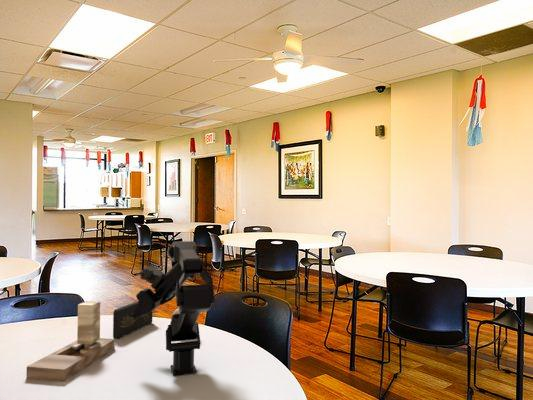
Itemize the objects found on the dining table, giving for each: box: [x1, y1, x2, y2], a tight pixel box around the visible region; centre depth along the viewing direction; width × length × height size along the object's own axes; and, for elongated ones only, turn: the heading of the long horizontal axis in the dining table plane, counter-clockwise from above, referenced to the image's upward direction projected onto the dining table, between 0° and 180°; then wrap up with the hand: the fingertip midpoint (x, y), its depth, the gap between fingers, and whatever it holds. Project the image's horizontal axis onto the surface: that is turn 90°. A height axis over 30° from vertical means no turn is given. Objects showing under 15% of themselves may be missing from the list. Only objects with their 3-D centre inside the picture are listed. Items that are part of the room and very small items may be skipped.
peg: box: [76, 300, 101, 355], centre depth 123 cm, size 5×5×15 cm
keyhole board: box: [25, 337, 116, 383], centre depth 116 cm, size 24×11×3 cm, turn 171°
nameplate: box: [112, 300, 154, 340], centre depth 147 cm, size 21×2×10 cm, turn 163°
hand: (140, 313), depth 120 cm, fingers open, 9 cm apart
